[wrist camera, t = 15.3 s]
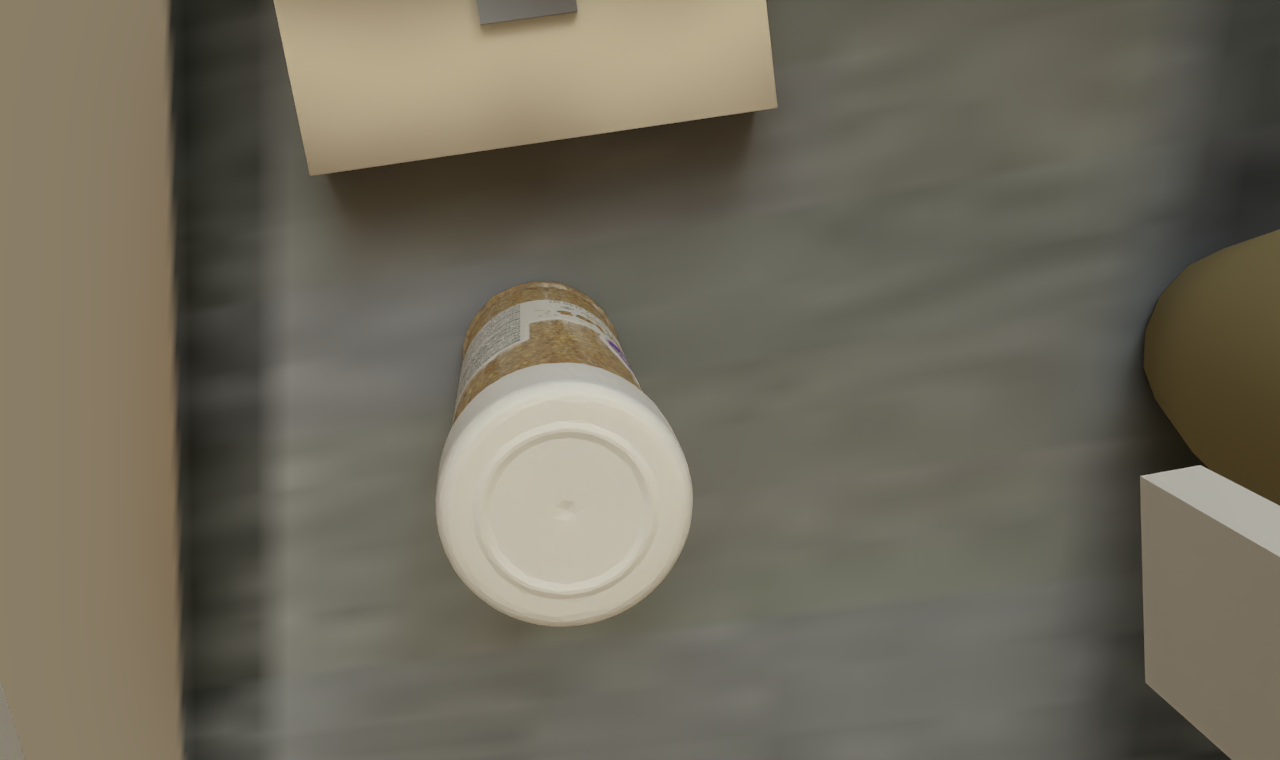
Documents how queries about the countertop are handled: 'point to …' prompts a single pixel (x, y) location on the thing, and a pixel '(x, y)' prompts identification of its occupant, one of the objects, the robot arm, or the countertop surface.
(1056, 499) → the countertop surface
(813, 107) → the countertop surface
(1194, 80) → the countertop surface
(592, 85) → the holder block
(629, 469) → the sprinkles bottle
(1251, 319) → the squeeze bottle
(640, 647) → the countertop surface
